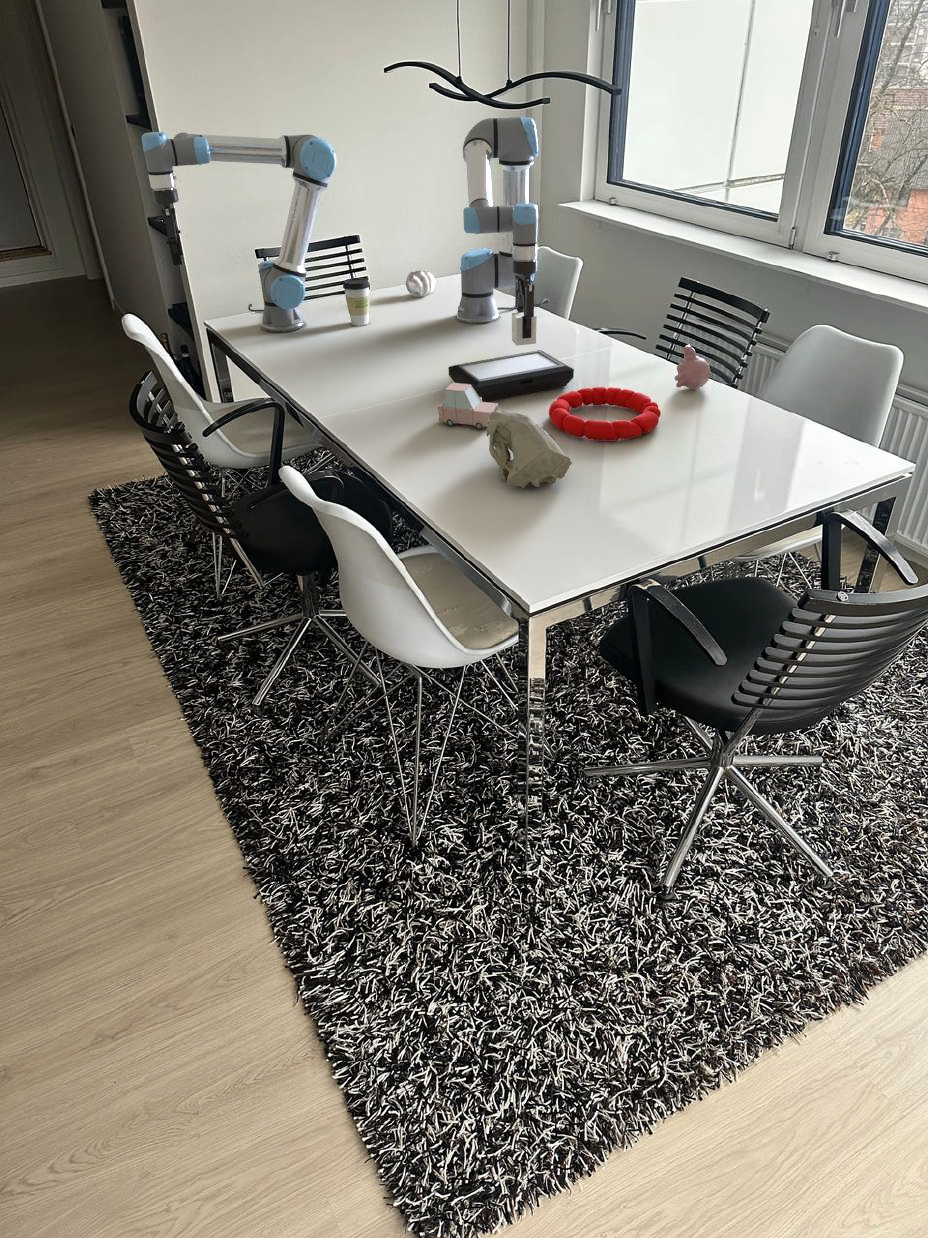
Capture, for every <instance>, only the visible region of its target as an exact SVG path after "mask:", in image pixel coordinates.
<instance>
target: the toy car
mask: <svg viewBox="0 0 928 1238" xmlns="http://www.w3.org/2000/svg"><path fill="white" fill-rule="evenodd" d="M498 409H499V404H498V403H497V402H490V401H489V402H488V401H483V402H482V397H479V396H478V394H477V393H476V391H475V390H474V389H473V387H472V386H471V385H470V384H460V383H454V382H451V383H450V384H449V385H448V386H447V387H446V388H445V389H444V394H443V399H442V403H440V404H439V405H438V406H437V413H438V421H439V422H443V423H446V425H447V426H448V427H452V426H454V425H455V424H461V425H469V426H473V427H475V429H476V430H479V431H480V430H481V429H483V428H485V427H486V428H487V423H488V422H490V414H491V413H492V412H496V411H499V410H498Z"/></svg>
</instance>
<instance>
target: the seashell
mask: <svg viewBox="0 0 928 1238" xmlns="http://www.w3.org/2000/svg"><path fill="white" fill-rule="evenodd" d="M405 280H406V281H405V287H406V290H407V292H408V294H410V295H411V296H413V297H415V298H416V297H426V296H429V295H430V294H431V293H432V292H433V290H434V289H435V286H436V279H435V277H434V275H433V274H432V273H430V272H429V270H415V271H410V272H409V273H408V275H407V277H406V279H405Z"/></svg>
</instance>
